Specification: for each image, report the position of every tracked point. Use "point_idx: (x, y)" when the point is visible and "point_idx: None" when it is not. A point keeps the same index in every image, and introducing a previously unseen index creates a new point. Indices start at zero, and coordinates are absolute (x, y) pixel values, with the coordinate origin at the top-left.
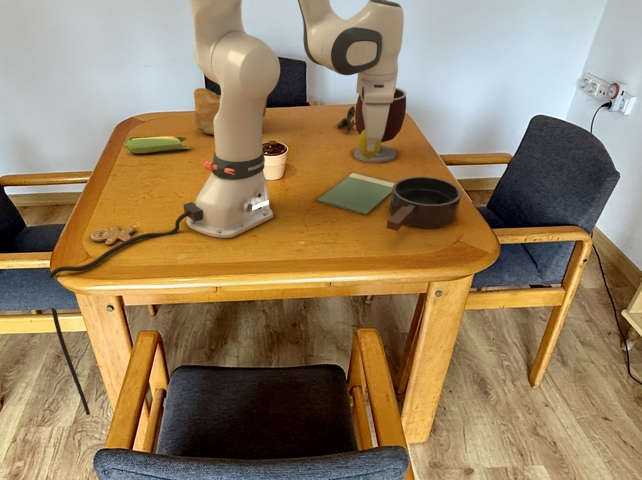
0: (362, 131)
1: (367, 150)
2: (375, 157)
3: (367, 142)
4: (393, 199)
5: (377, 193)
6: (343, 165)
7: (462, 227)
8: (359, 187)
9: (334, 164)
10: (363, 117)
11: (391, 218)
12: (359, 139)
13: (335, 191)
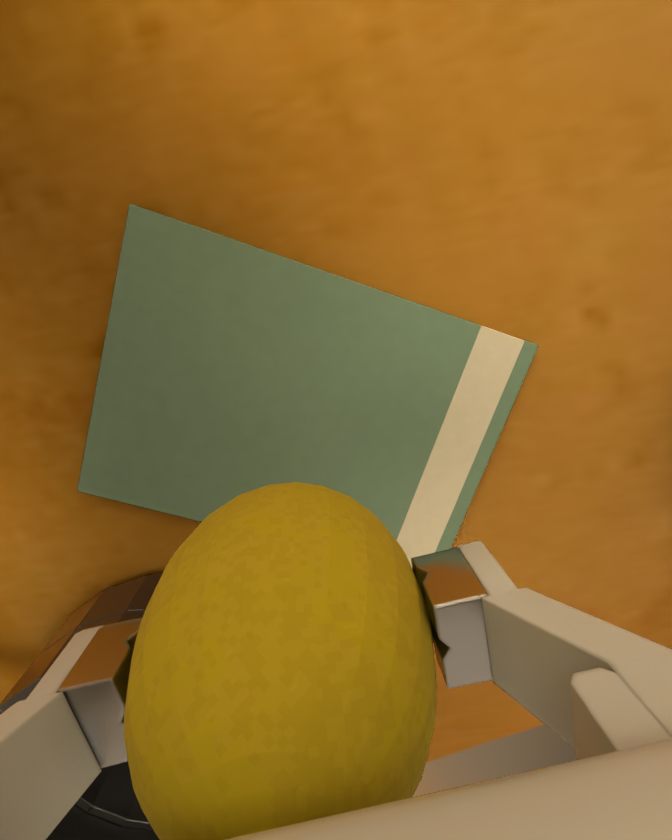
0: (277, 646)
1: (81, 634)
2: None
3: (14, 714)
4: (63, 647)
5: None
6: (645, 266)
7: None
8: (352, 409)
9: (657, 207)
10: (637, 830)
11: None
12: (217, 552)
13: (267, 290)
